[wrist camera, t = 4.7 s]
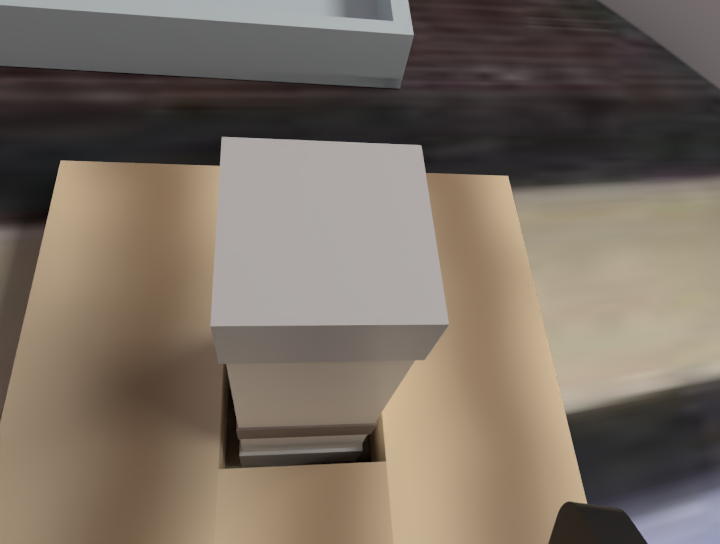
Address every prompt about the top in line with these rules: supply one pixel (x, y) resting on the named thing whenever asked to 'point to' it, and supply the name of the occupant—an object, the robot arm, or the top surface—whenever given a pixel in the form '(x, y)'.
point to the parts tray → (214, 38)
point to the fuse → (321, 290)
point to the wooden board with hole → (210, 386)
